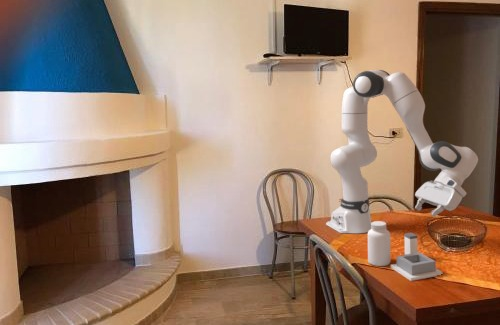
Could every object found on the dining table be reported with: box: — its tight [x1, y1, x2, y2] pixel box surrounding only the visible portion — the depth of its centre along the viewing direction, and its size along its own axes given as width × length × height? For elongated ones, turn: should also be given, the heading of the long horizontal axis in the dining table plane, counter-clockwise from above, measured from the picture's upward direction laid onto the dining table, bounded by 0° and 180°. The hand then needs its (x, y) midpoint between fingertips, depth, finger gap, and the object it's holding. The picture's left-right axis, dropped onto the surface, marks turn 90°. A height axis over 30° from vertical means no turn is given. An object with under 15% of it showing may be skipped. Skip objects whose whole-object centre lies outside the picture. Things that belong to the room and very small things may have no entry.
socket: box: [390, 251, 444, 282], centre depth 149 cm, size 12×12×4 cm
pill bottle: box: [367, 220, 392, 267], centre depth 158 cm, size 8×8×15 cm
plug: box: [403, 232, 419, 255], centre depth 161 cm, size 4×3×9 cm
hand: (424, 212), depth 167 cm, fingers open, 8 cm apart
